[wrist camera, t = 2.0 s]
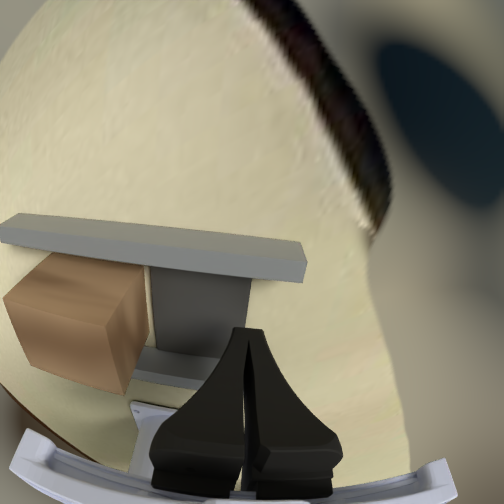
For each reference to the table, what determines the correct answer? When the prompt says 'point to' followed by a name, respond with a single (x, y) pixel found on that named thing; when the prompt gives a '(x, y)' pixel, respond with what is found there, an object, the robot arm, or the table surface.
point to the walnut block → (82, 319)
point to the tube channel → (174, 282)
